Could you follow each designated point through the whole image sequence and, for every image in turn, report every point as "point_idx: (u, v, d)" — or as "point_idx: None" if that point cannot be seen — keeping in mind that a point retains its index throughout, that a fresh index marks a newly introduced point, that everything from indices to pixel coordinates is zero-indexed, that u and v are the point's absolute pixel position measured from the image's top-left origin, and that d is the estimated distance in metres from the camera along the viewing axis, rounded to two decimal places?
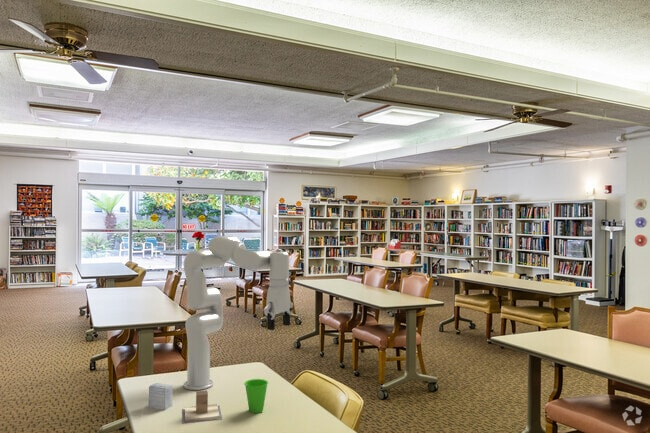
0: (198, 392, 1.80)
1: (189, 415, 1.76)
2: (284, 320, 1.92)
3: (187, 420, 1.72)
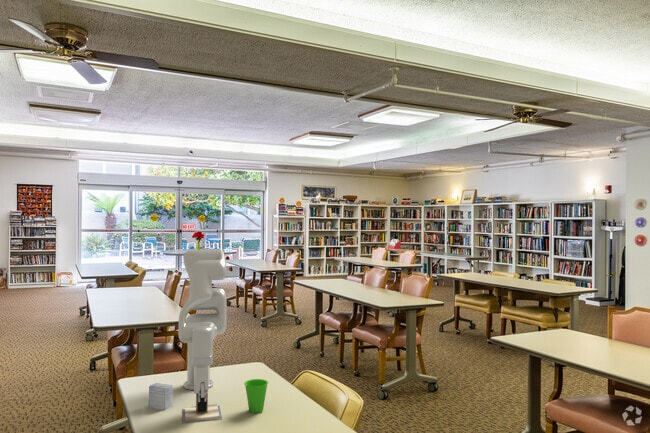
0: None
1: (189, 415, 1.76)
2: None
3: (187, 420, 1.72)
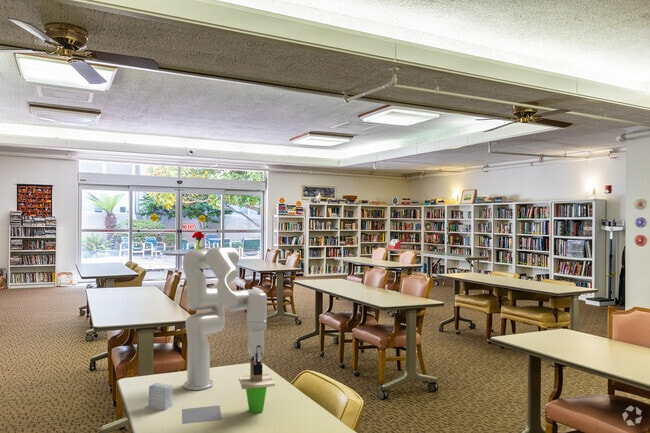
0: (253, 361, 1.84)
1: (245, 383, 1.80)
2: None
3: (244, 387, 1.76)
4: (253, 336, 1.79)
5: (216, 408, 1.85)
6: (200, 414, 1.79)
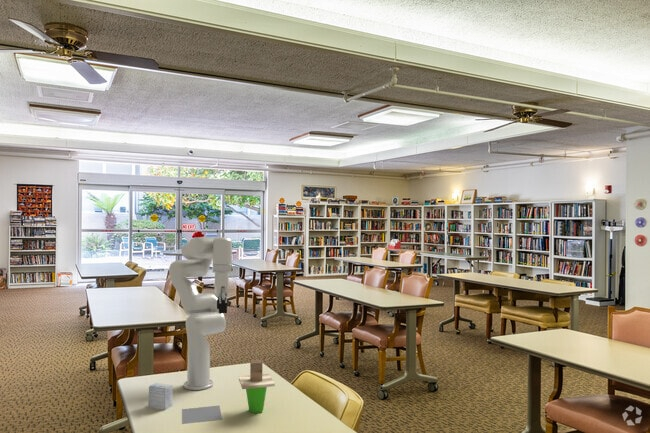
0: (253, 361, 1.84)
1: (245, 383, 1.80)
2: (219, 304, 1.98)
3: (244, 387, 1.76)
4: (218, 277, 1.89)
5: (216, 408, 1.85)
6: (200, 414, 1.79)
